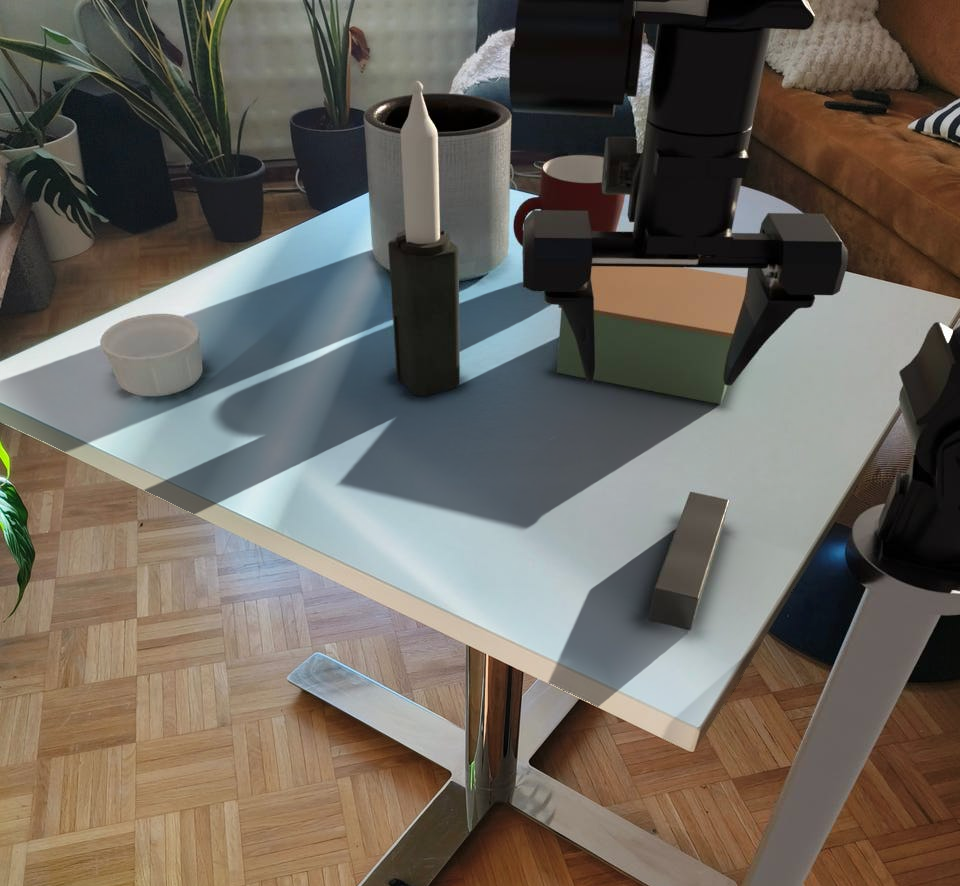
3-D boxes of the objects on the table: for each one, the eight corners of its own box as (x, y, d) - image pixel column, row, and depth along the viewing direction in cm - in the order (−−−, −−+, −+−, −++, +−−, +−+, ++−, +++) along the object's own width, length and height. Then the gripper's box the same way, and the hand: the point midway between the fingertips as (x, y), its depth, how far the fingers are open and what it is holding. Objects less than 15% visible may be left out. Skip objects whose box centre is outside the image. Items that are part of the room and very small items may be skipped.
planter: (344, 264, 105) (330, 115, 94) (430, 223, 114) (426, 83, 103) (452, 300, 98) (450, 145, 87) (534, 254, 107) (542, 108, 96)
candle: (464, 385, 85) (462, 84, 68) (416, 399, 83) (402, 93, 66) (439, 362, 88) (431, 69, 71) (392, 375, 86) (372, 77, 69)
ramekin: (222, 384, 85) (213, 340, 82) (131, 410, 81) (117, 366, 78) (188, 347, 90) (178, 305, 87) (100, 370, 87) (87, 328, 84)
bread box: (747, 347, 91) (762, 279, 86) (725, 406, 83) (741, 335, 78) (589, 320, 95) (595, 253, 90) (553, 373, 87) (558, 303, 82)
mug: (525, 297, 99) (529, 188, 91) (503, 264, 105) (506, 159, 97) (627, 287, 101) (640, 179, 93) (600, 255, 107) (610, 152, 99)
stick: (683, 522, 70) (690, 490, 68) (721, 531, 70) (729, 499, 68) (648, 620, 62) (654, 588, 60) (690, 631, 62) (698, 599, 60)
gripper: (833, 83, 54) (773, 328, 65) (526, 80, 55) (517, 324, 66) (887, 140, 47) (809, 407, 58) (529, 136, 47) (519, 403, 58)
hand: (658, 381), depth 60 cm, fingers open, 9 cm apart
